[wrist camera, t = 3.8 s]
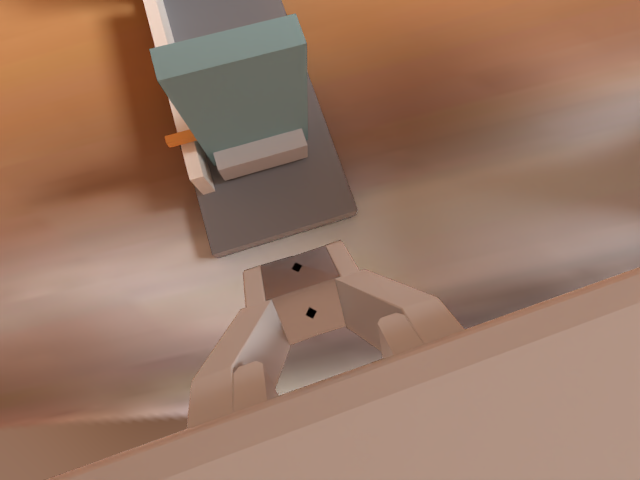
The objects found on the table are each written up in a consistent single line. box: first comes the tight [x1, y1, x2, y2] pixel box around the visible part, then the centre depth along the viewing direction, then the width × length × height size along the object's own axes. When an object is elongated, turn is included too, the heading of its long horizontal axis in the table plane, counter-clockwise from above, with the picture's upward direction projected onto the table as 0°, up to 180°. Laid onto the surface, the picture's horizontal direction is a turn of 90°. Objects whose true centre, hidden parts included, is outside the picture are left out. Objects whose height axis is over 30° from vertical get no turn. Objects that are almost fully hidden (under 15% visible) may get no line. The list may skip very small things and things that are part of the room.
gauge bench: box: [143, 0, 358, 258], centre depth 24 cm, size 12×30×12 cm, turn 18°
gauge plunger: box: [149, 14, 308, 181], centre depth 22 cm, size 10×5×10 cm, turn 108°
